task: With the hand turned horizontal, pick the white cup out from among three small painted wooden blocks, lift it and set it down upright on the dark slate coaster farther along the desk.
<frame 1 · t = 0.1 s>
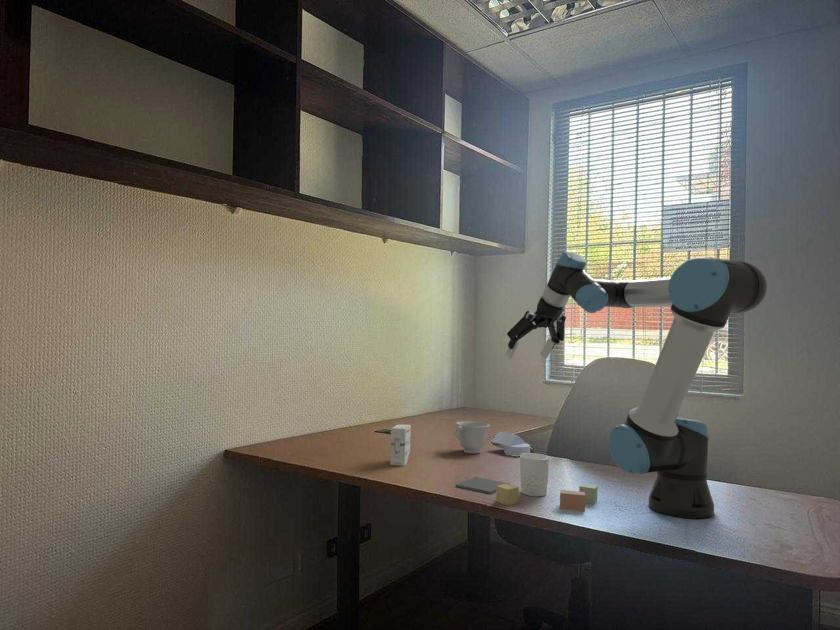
hand: (526, 356, 187), 36 cm above the table, tool tilted 35°, fingers open, 13 cm apart
ink box: (400, 463, 191), on the table
brick-red long block: (572, 508, 148), on the table
mustard block: (507, 502, 151), on the table
sage block: (588, 501, 155), on the table
white cup: (533, 493, 160), on the table
slate coaster: (482, 486, 166), on the table
wedge on round base: (512, 453, 211), on the table
teacup: (469, 452, 210), on the table
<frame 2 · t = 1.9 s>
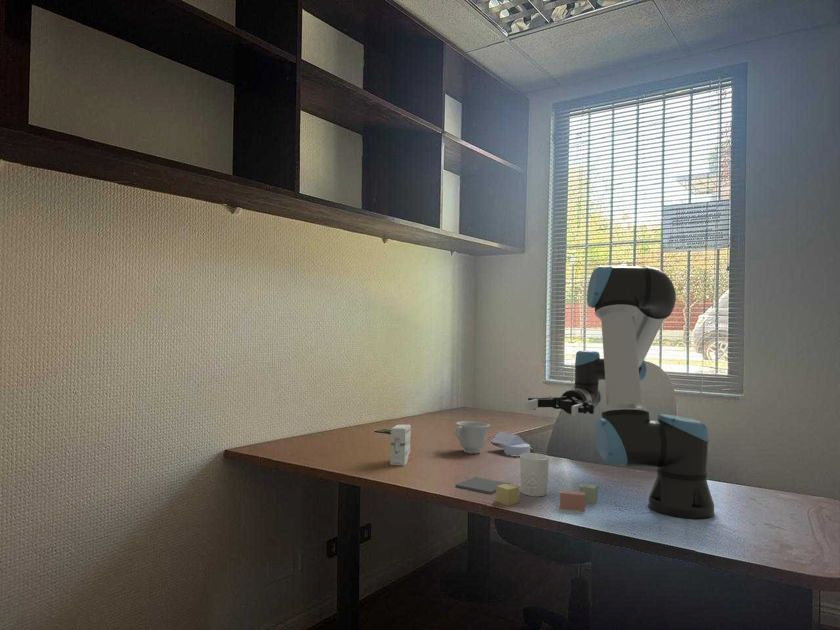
hand: (549, 408, 168), 22 cm above the table, tool horizontal, fingers open, 13 cm apart
nothing on the table moved.
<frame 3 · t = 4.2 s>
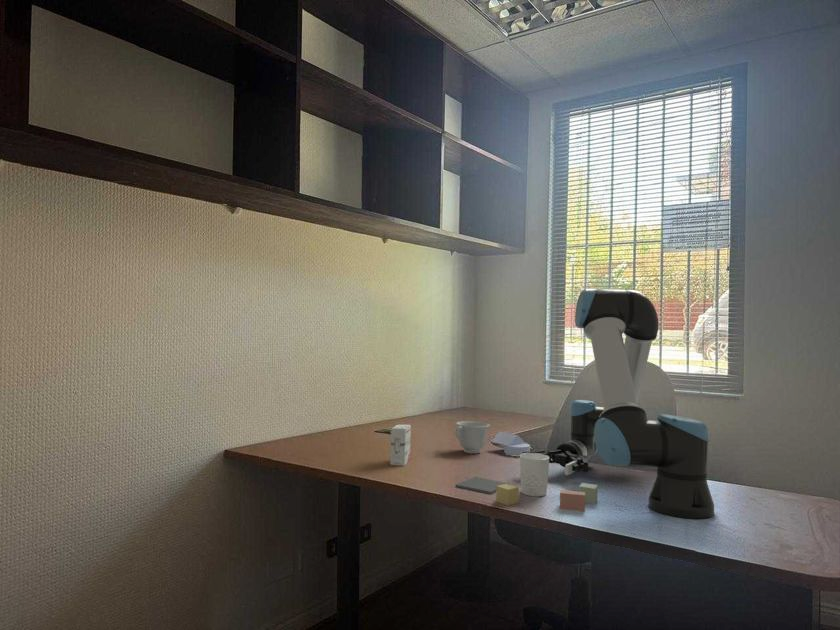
hand: (543, 466, 166), 6 cm above the table, tool horizontal, fingers open, 13 cm apart
nothing on the table moved.
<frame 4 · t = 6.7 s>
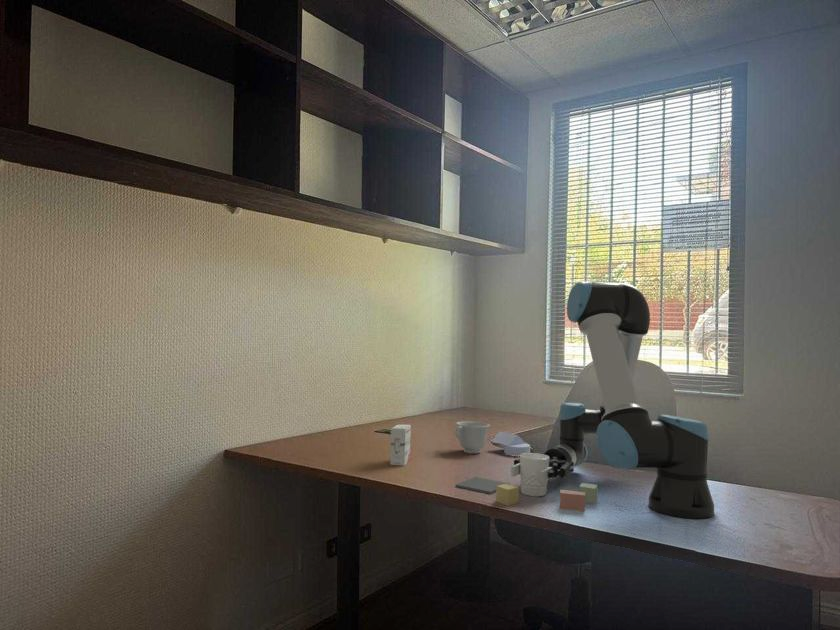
hand: (526, 474, 156), 6 cm above the table, tool horizontal, fingers closed on white cup, 7 cm apart
white cup: (533, 493, 160), on the table, touching gripper
everything else where it was.
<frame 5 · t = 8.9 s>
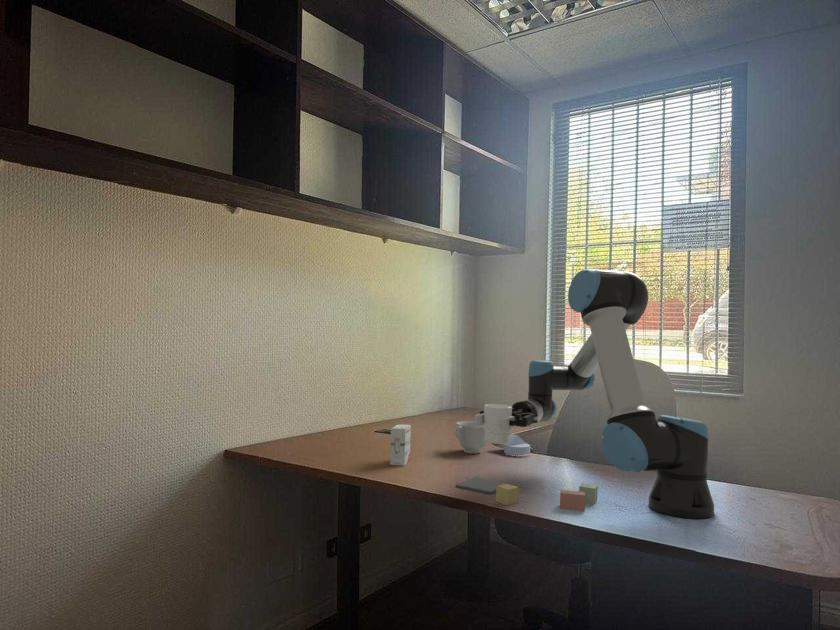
hand: (488, 422, 162), 19 cm above the table, tool horizontal, fingers closed on white cup, 7 cm apart
white cup: (496, 442, 166), point 12 cm above the table, touching gripper
everything else where it was.
when the fingers open (8 cm above the table, at t = 11.5 s): white cup drops 1 cm, resting on slate coaster.
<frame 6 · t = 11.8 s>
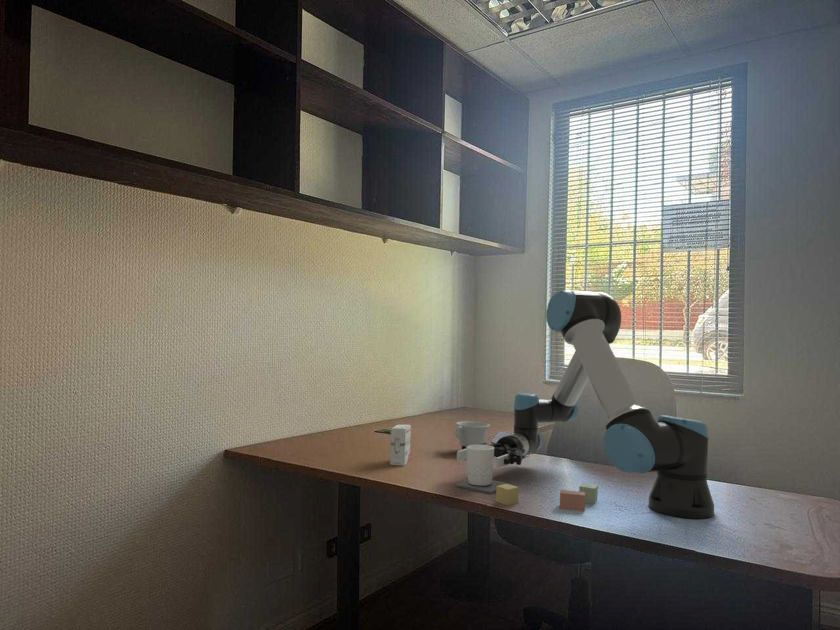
hand: (476, 459, 163), 8 cm above the table, tool horizontal, fingers open, 11 cm apart
white cup: (480, 483, 166), resting on slate coaster
everything else where it was.
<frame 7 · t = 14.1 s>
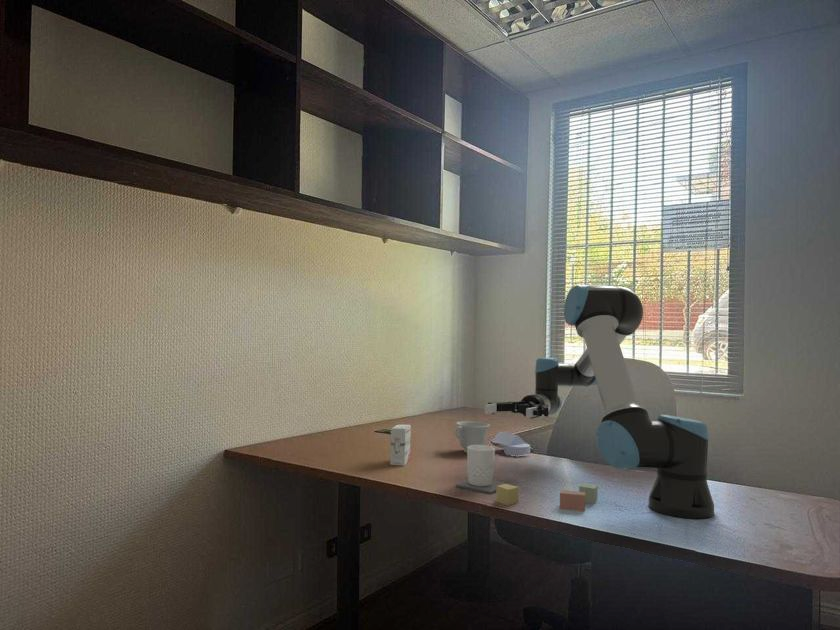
hand: (505, 411, 176), 20 cm above the table, tool horizontal, fingers open, 13 cm apart
nothing on the table moved.
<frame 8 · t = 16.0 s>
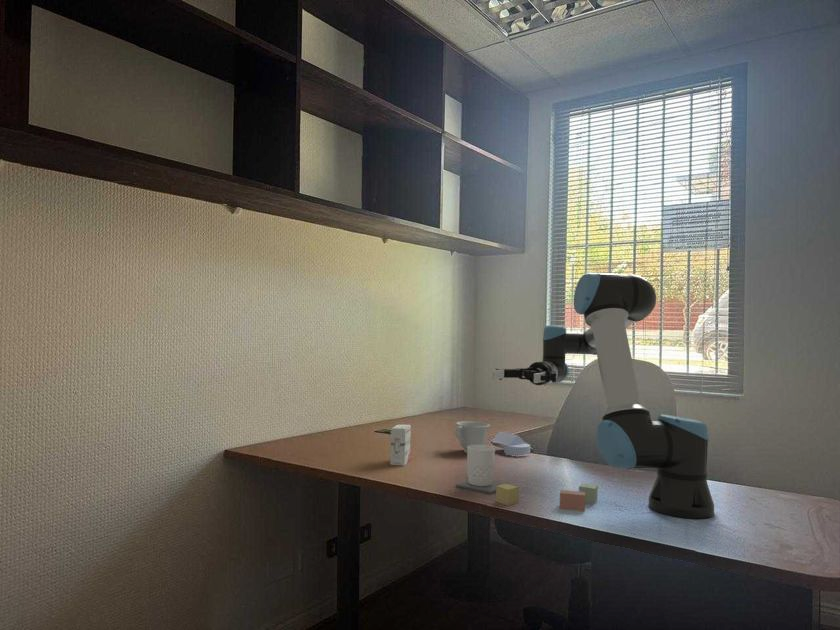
hand: (513, 376, 176), 30 cm above the table, tool horizontal, fingers open, 13 cm apart
nothing on the table moved.
at the end: white cup inside the target area on the slate coaster (0.9 cm from its centre), point 0.4 cm above the slate coaster's base; white cup tilted 0°; the gripper is holding nothing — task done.
